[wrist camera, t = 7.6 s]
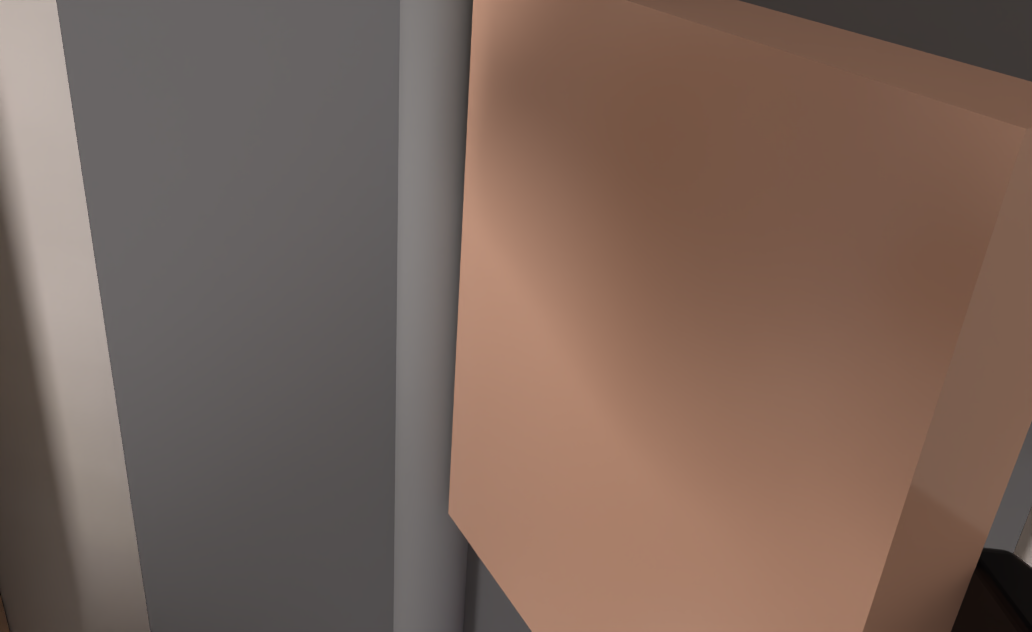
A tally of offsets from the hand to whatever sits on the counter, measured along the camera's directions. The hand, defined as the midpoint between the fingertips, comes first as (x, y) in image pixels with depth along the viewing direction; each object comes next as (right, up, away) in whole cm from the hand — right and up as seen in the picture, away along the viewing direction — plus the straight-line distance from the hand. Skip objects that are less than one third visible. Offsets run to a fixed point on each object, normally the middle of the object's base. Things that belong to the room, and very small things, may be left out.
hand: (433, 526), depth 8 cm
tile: (+1, +2, +4) cm, 5 cm away
